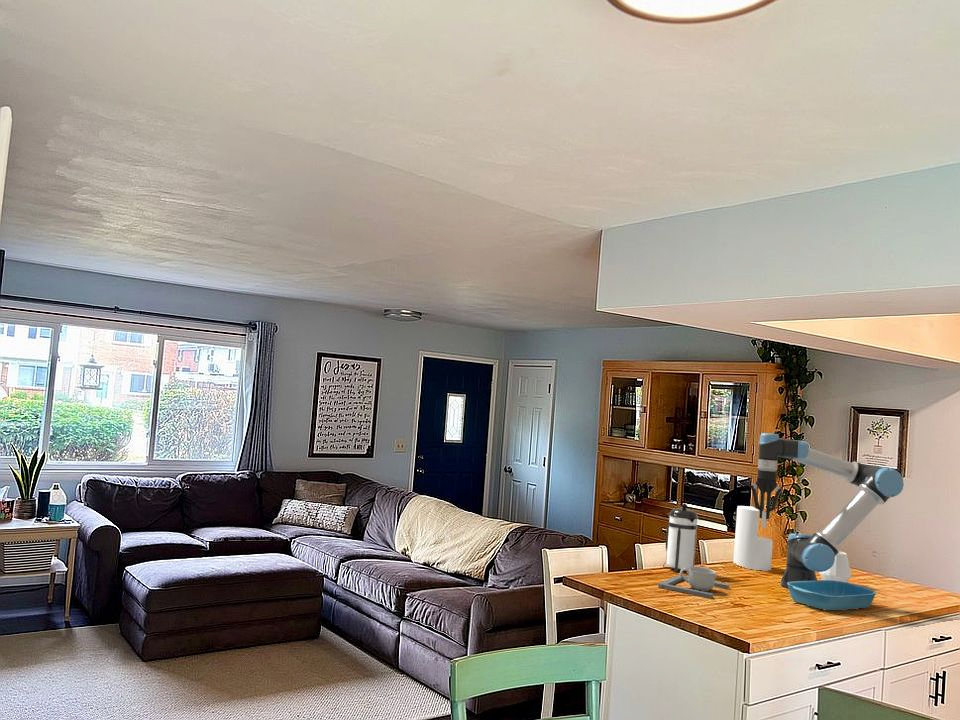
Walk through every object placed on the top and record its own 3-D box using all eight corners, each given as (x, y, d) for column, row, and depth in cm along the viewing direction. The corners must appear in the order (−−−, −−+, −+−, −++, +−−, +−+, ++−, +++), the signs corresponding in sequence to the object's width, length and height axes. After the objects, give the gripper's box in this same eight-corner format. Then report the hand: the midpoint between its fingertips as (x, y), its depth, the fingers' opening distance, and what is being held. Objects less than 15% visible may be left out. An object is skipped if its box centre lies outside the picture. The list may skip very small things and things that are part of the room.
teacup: (714, 588, 319) (716, 569, 320) (714, 594, 309) (715, 573, 310) (679, 583, 324) (681, 563, 324) (678, 588, 313) (679, 568, 314)
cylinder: (736, 568, 370) (740, 508, 372) (730, 561, 387) (734, 504, 389) (774, 572, 368) (778, 512, 369) (767, 565, 385) (770, 508, 386)
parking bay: (729, 588, 323) (729, 584, 323) (711, 598, 300) (711, 594, 300) (678, 578, 334) (679, 574, 334) (658, 587, 312) (658, 583, 312)
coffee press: (701, 570, 356) (706, 504, 357) (690, 575, 342) (695, 506, 344) (664, 563, 365) (669, 499, 367) (652, 568, 351) (657, 501, 353)
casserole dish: (822, 614, 292) (824, 595, 292) (775, 599, 311) (776, 581, 312) (886, 610, 309) (887, 592, 309) (836, 596, 328) (838, 578, 329)
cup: (818, 582, 352) (820, 551, 353) (818, 577, 365) (820, 547, 366) (851, 588, 347) (853, 556, 348) (849, 582, 360) (851, 552, 360)
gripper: (749, 468, 327) (745, 525, 326) (782, 472, 321) (778, 530, 319) (753, 468, 334) (749, 523, 333) (785, 471, 327) (782, 528, 326)
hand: (763, 526), depth 326 cm, fingers closed
